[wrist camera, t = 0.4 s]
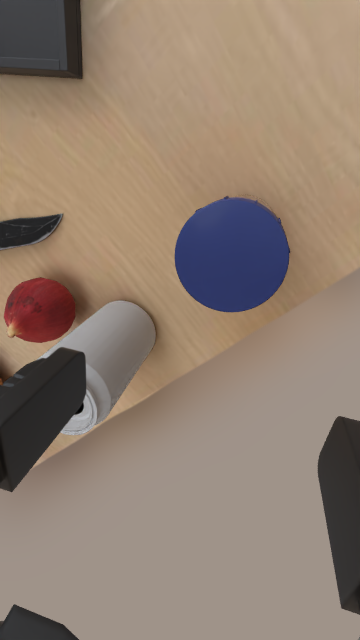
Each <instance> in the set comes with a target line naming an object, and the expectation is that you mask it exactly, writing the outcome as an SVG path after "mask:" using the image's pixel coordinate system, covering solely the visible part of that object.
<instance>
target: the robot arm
mask: <svg viewBox="0 0 360 640" xmlns="http://www.w3.org/2000/svg"><path fill="white" fill-rule="evenodd" d="M85 395H86V357H85V354H84V352H81V351H77V350H73V349H69V348H65V347H60V348H58V349H57V350H56V351H54V352H53V353H52V354H51V355H50V356H48V357H47V358H40V359H38V360H36V361H33V362H31V363H29V364H26V365H25V366H24V367H23V368H21V369H20V370H19V371H17V372H16V373H15V374H14V376H13V377H10V378H9V379H7V380H6V381H5V382H4V383H3V385H0V488H1V489H4V490H7V491H10V492H13V490H14V489H15V488H16V487H17V485H18V484H19V483H20V482H21V480H22V479H23V478H24V477H25V475H26V474H27V473H28V472H29V470H30V469H31V468H32V467H33V465H34V464H35V463H36V462H37V460H38V459H39V458H40V457H41V455H42V454H43V453H44V452H45V450H46V449H47V448H48V447H49V445H50V444H51V443H52V442H53V440H54V439H55V438H56V437H57V435H58V434H59V433H60V432H61V430H62V429H63V428H64V427H65V425H66V424H67V423H68V422H69V420H70V419H71V418H72V417H73V415H74V414H75V413H76V412H77V410H78V409H79V408H80V406H81V405H82V403H83V401H84V398H85ZM318 477H319V483H320V489H321V494H322V500H323V505H324V511H325V517H326V523H327V529H328V534H329V540H330V545H331V552H332V557H333V563H334V568H335V574H336V580H337V586H338V591H339V597H340V603H341V608H342V609H345V610H348V611H351V612H354V613H357V614H360V421H357V420H353V419H349V418H345V417H341V416H339V417H337V418H336V420H335V421H334V424H333V426H332V428H331V430H330V432H329V435H328V437H327V439H326V441H325V443H324V446H323V448H322V450H321V452H320V455H319V460H318ZM0 640H79V639H78V638H77V637H75V635H73V634H72V633H71V632H70V631H69V630H68V629H67V628H66V627H65V626H64V625H63V624H60V623H58V622H55V621H53V620H51V619H48V618H46V617H43V616H41V615H38V614H36V613H34V612H31V611H29V610H26V609H24V608H22V607H19V606H17V605H13V607H12V608H11V610H10V612H9V614H8V615H7V617H6V619H5V620H4V621H0ZM358 640H360V637H359V639H358Z"/></svg>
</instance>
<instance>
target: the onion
mask: <svg viewBox="0 0 360 640" xmlns="http://www.w3.org/2000/svg"><path fill="white" fill-rule="evenodd" d="M4 319H5V322H6V324H7V327H8V329H7V335H8V337H10V338H12V337H14V336H17V337H19V338H21V339H23V340H25V341H30V342H36V343H42V342H47V341H51V340H55V339H57V338H59V337H61V336H62V335H63V334H64V333H66V332H67V331H68V330H69V329H70V327H71V326H72V323H73V321H74V319H75V302H74V299H73V297H72V295H71V293H70V292H69V291H68V290H67V288H66V287H64V286H63V285H61V284H60V283H58V282H57V281H53V280H49V279H45V278H41V277H40V278H35V279H32V280H28V281H25V282H22V283H21V284H19V285H17V286H16V287H15V289H14V290H13V291H12V292H11V294H10V296H9V297H8V299H7V303H6V307H5V312H4Z"/></svg>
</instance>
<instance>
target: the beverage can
mask: <svg viewBox="0 0 360 640" xmlns="http://www.w3.org/2000/svg"><path fill="white" fill-rule="evenodd" d="M155 339H156V331H155V326H154V324H153V321H152V320H151V318H150V316H149V315H148V314H147V313H146V312H145V311H144V310H143V309H142V308H140V307H139V306H137V305H136V304H133V303H131V302H128V301H113V302H110V303H108V304H106V305H104V306H103V307H102V308H101V309H99V310H98V311H97V312H96V313H94V314H93V315H92V316H91V317H89V318H88V319H87V320H86V321H84V322H83V323H82V324H81V325H79V326H78V327H77V328H76V329H74V330H73V331H72V332H71V333H70V334H68V335H67V336H66V337H65V338H63V339H62V340H61V341H60V342H58V343H57V344H56V345H55V346H53V347H52V348H51V349H50V350H48V351H47V352H46V353H45V354H43V355H42V356H41V357H40V358H47V357H48V356H50V355H51V354H52V353H53V352H54V351H56V350H57V349H58V348H60V347H65V348H69V349H73V350H77V351H81V352H84V354H85V357H86V395H85V398H84V401H83V403H82V405H81V406H80V408H79V409H78V410H77V412H76V413H75V414H74V415H73V417H72V418H71V419H70V420H69V422H68V423H67V424H66V425H65V427H64V428H63V429H62V430H61V432H60V433H63V434H68V435H80V434H84V433H86V432H88V431H90V430H91V429H92V428H93V427H94V425H97V424H99V423H101V422H102V421H103V420H104V419H105V418H106V417H107V416H108V414H109V413H110V411H111V410H112V408H113V407H114V405H115V404H116V402H117V401H118V399H119V398H120V396H121V395H122V393H123V392H124V390H125V389H126V387H127V386H128V384H129V383H130V381H131V380H132V378H133V377H134V375H135V374H136V372H137V371H138V369H139V368H140V366H141V365H142V363H143V362H144V360H145V359H146V357H147V356H148V354H149V353H150V351H151V350H152V348H153V346H154V344H155ZM40 358H38V359H40ZM38 359H37V360H38Z"/></svg>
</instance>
